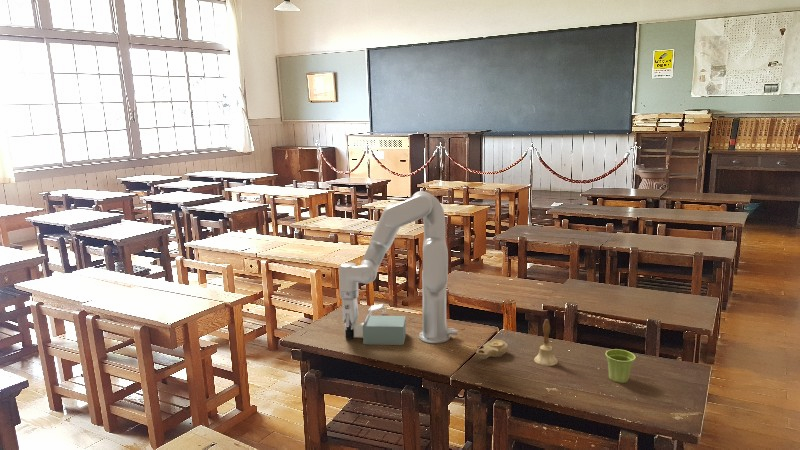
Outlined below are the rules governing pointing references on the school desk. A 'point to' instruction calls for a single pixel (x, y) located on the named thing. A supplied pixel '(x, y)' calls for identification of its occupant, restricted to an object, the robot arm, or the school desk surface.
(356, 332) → the pink-banded cream bar
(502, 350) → the oil lamp
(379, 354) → the school desk surface
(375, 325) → the block
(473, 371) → the school desk surface
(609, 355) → the plant pot
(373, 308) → the white scroll-footed stand
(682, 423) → the school desk surface
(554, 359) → the hand bell
